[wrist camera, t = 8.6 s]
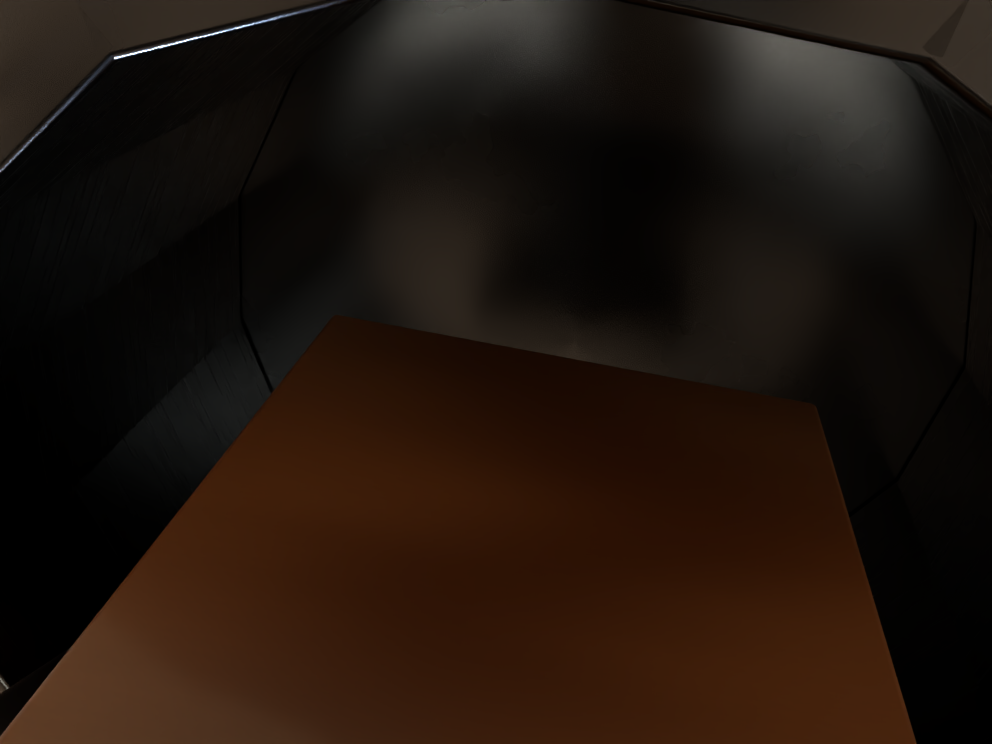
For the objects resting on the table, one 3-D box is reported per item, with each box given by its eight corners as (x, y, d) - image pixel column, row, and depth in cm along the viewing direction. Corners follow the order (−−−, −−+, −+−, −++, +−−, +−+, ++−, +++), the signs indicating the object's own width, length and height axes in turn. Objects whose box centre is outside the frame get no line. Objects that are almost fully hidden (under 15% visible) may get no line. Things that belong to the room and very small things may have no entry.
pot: (1230, 253, 11) (1964, 718, 5) (645, 683, 18) (635, 1100, 12) (442, -380, 9) (-46, -981, 3) (129, 378, 16) (-212, 684, 10)
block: (817, 402, 8) (1002, 1012, 3) (694, 708, 10) (715, 1260, 6) (333, 312, 8) (-17, 749, 4) (335, 626, 11) (128, 1086, 7)
